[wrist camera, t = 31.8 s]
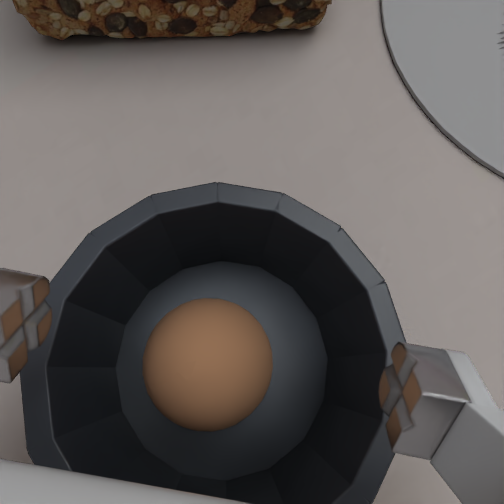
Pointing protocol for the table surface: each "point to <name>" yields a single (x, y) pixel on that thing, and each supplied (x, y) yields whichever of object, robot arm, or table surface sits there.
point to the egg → (207, 364)
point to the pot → (265, 312)
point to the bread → (168, 16)
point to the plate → (454, 68)
